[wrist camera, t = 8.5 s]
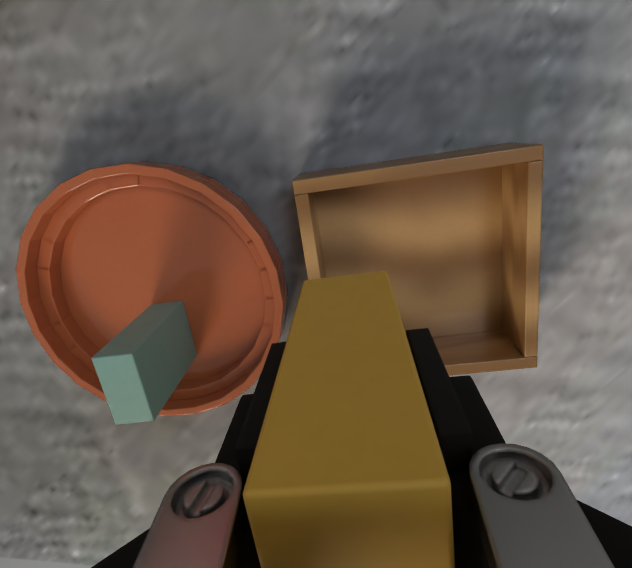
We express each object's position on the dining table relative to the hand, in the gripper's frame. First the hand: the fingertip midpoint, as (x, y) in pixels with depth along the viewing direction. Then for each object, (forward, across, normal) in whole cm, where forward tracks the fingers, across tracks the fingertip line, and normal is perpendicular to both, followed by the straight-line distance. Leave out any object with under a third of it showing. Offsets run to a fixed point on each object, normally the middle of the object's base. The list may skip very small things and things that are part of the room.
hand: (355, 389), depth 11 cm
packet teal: (+19, +14, +6) cm, 24 cm away
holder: (+19, -4, +3) cm, 20 cm away
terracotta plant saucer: (+19, +14, +3) cm, 24 cm away
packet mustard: (+3, 0, 0) cm, 3 cm away
